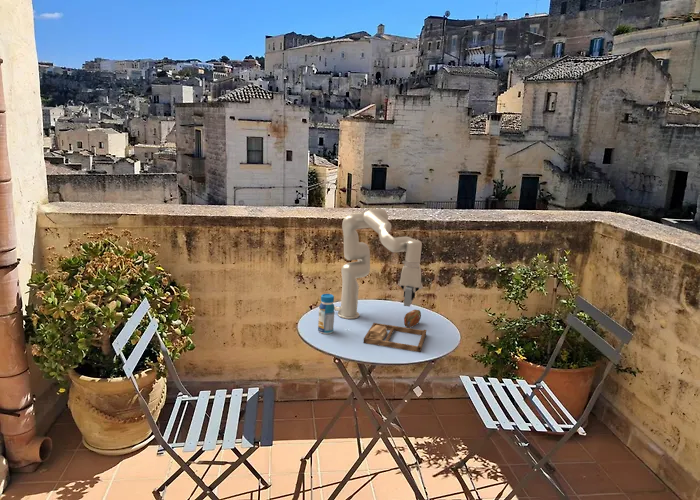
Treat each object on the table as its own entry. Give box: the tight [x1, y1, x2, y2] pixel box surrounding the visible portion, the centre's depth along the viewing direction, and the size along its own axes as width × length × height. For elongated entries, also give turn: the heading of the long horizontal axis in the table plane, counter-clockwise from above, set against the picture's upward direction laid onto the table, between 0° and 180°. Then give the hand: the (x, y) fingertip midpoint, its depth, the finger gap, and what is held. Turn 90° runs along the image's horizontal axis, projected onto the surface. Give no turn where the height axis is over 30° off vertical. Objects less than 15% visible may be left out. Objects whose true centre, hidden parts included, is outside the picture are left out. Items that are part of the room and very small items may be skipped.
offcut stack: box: [368, 325, 388, 341], centre depth 285 cm, size 7×13×5 cm, turn 163°
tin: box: [403, 309, 422, 328], centre depth 304 cm, size 15×3×8 cm, turn 143°
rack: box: [362, 322, 427, 353], centre depth 283 cm, size 29×24×3 cm
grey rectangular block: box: [403, 286, 414, 307], centre depth 277 cm, size 3×12×9 cm, turn 166°
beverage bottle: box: [317, 293, 335, 335], centre depth 285 cm, size 8×8×20 cm
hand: (408, 298), depth 277 cm, fingers closed on grey rectangular block, 3 cm apart
